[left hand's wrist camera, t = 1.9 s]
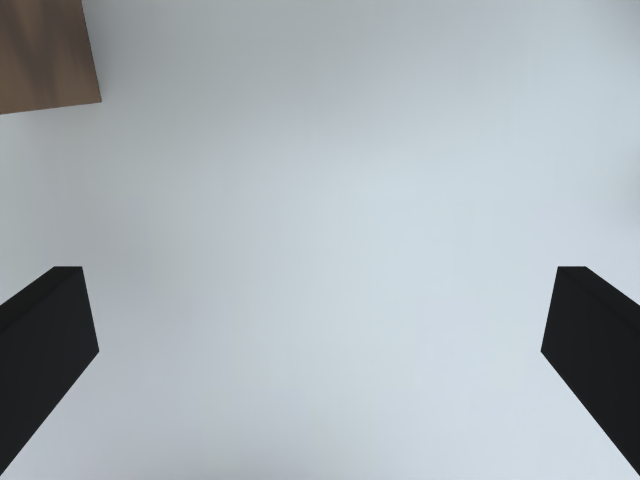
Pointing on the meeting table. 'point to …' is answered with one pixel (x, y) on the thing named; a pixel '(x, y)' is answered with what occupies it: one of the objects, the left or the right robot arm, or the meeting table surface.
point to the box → (44, 56)
